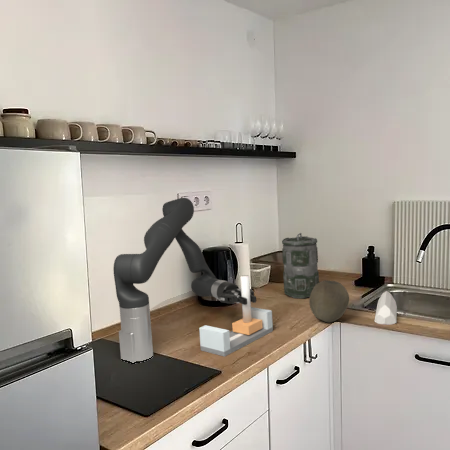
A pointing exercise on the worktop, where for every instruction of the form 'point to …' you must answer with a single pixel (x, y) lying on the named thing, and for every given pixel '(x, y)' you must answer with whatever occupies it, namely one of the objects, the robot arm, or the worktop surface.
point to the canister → (300, 266)
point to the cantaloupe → (329, 300)
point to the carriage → (246, 312)
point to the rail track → (233, 335)
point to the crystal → (386, 309)
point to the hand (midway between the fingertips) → (250, 300)
